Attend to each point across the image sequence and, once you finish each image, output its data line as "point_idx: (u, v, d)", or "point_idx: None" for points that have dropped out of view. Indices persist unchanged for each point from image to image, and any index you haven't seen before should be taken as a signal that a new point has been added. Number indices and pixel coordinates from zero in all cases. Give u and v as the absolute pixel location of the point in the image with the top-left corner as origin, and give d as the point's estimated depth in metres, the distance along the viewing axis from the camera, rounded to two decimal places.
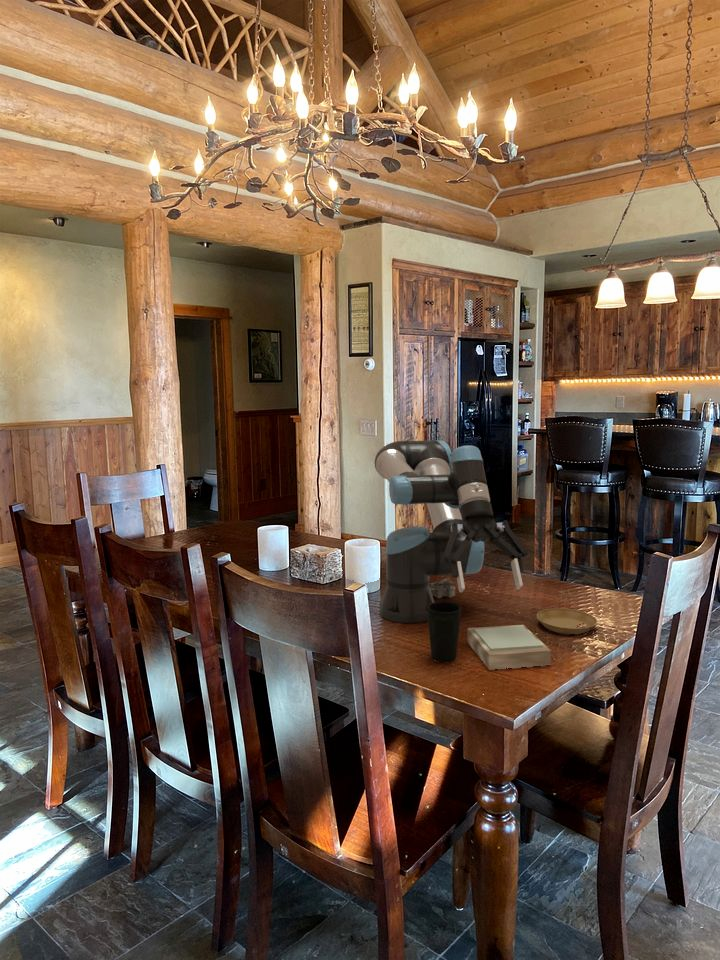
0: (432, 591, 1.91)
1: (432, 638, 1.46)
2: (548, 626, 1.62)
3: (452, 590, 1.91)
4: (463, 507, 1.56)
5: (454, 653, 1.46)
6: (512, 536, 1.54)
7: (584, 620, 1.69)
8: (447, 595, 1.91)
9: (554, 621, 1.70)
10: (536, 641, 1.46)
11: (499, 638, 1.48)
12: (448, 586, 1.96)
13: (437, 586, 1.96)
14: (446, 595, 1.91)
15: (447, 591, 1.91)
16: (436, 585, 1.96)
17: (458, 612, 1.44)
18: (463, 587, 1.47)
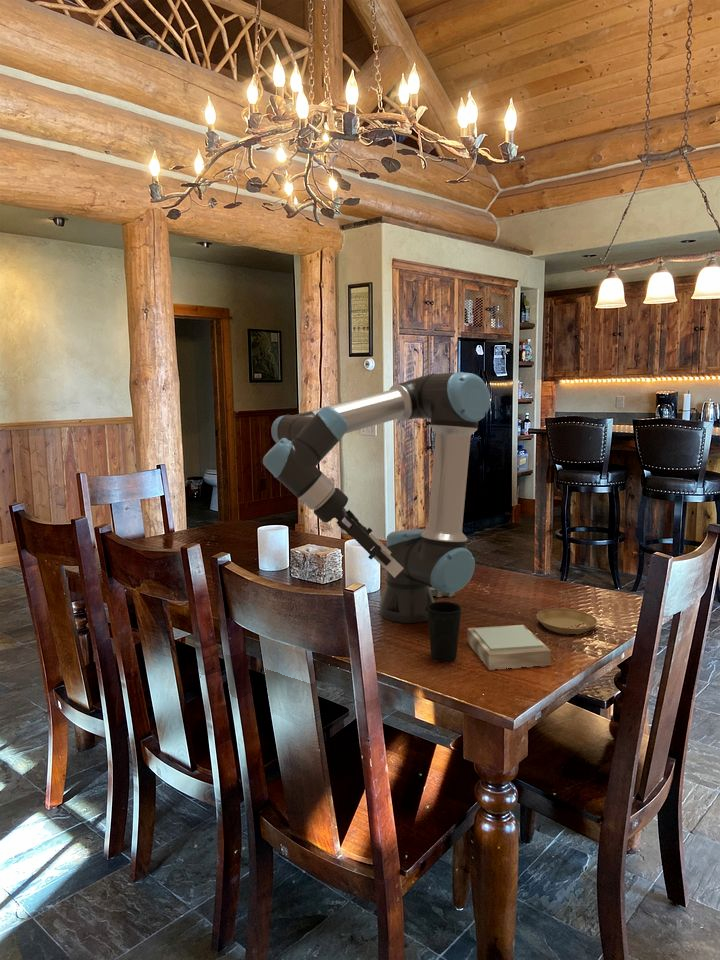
0: (432, 591, 1.91)
1: (432, 638, 1.46)
2: (548, 626, 1.62)
3: None
4: None
5: (454, 653, 1.46)
6: (354, 538, 1.34)
7: (584, 620, 1.69)
8: (447, 595, 1.92)
9: (554, 621, 1.70)
10: (536, 641, 1.46)
11: (499, 638, 1.48)
12: None
13: None
14: (446, 595, 1.92)
15: None
16: None
17: (458, 612, 1.44)
18: None
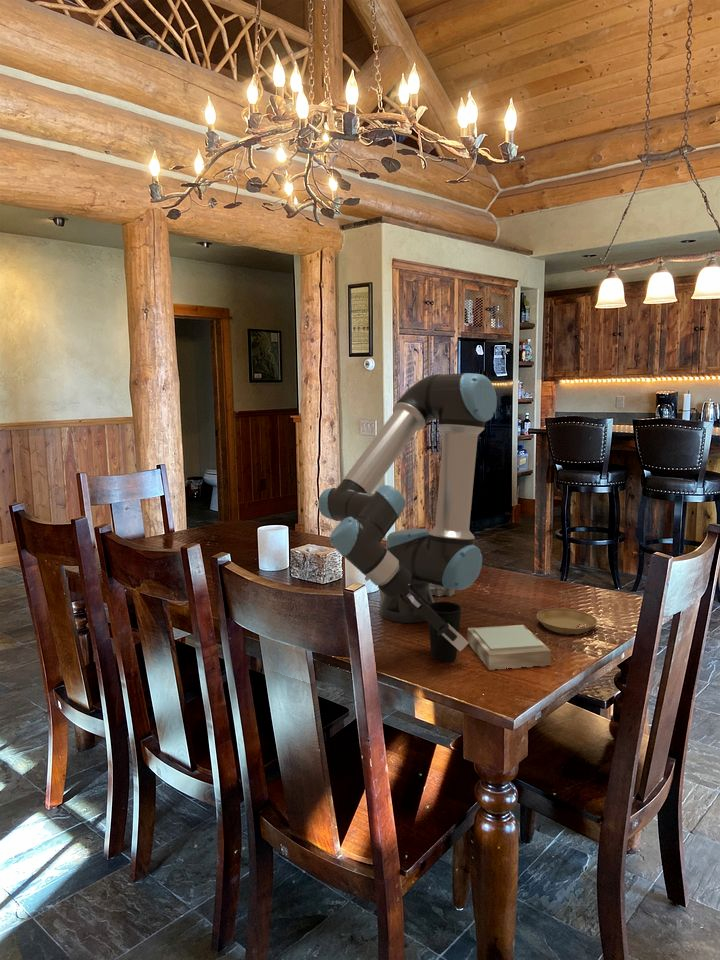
0: (432, 590, 1.92)
1: (432, 638, 1.46)
2: (548, 626, 1.63)
3: (452, 589, 1.92)
4: None
5: (454, 653, 1.46)
6: (422, 616, 1.40)
7: (584, 620, 1.69)
8: (447, 594, 1.92)
9: (554, 621, 1.70)
10: (536, 641, 1.46)
11: (499, 638, 1.48)
12: None
13: (436, 585, 1.97)
14: (446, 594, 1.93)
15: (447, 590, 1.92)
16: None
17: (458, 612, 1.44)
18: None
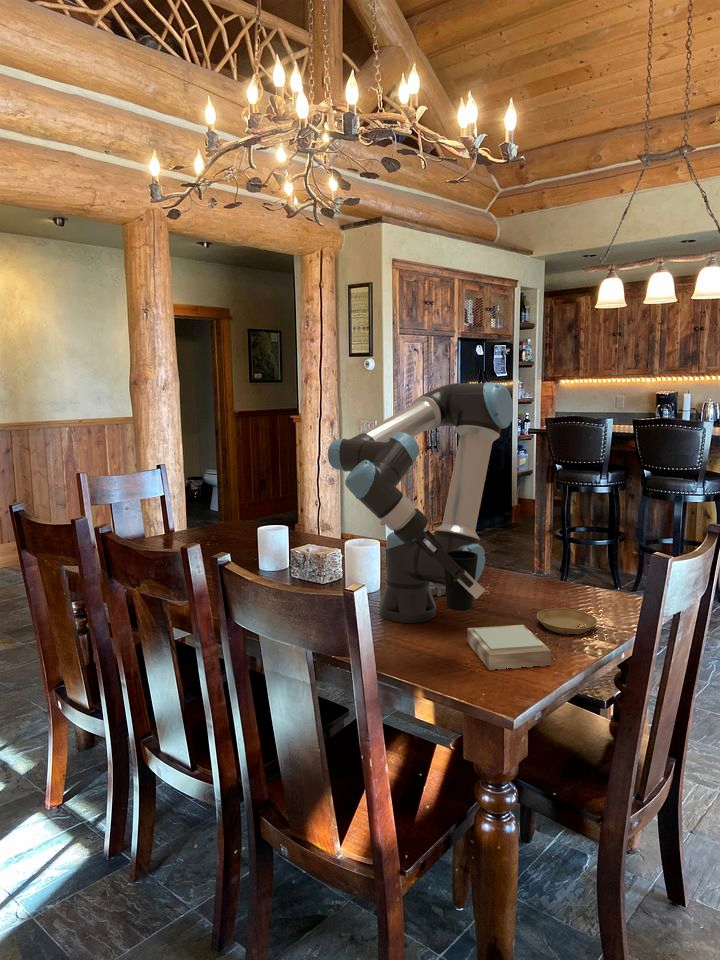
0: (432, 589, 1.93)
1: (448, 586, 1.43)
2: (548, 626, 1.63)
3: None
4: None
5: (470, 601, 1.43)
6: (438, 561, 1.37)
7: (584, 620, 1.69)
8: None
9: (554, 621, 1.70)
10: (536, 641, 1.46)
11: (499, 638, 1.48)
12: None
13: (436, 584, 1.98)
14: None
15: None
16: (435, 583, 1.98)
17: (475, 559, 1.42)
18: None
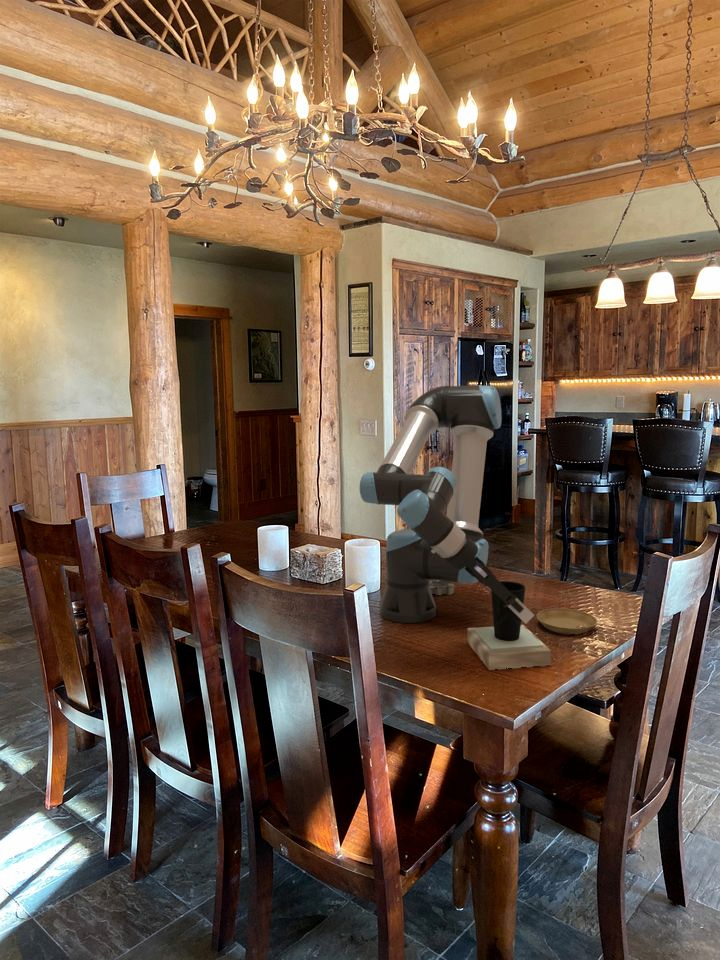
0: (432, 589, 1.93)
1: (496, 617, 1.47)
2: (548, 626, 1.63)
3: (451, 587, 1.94)
4: None
5: (518, 631, 1.47)
6: (489, 587, 1.40)
7: (584, 620, 1.69)
8: (446, 592, 1.94)
9: (554, 621, 1.70)
10: (536, 641, 1.46)
11: None
12: (446, 584, 1.99)
13: (435, 584, 1.98)
14: (445, 592, 1.94)
15: (446, 588, 1.94)
16: (434, 583, 1.99)
17: (523, 591, 1.45)
18: None
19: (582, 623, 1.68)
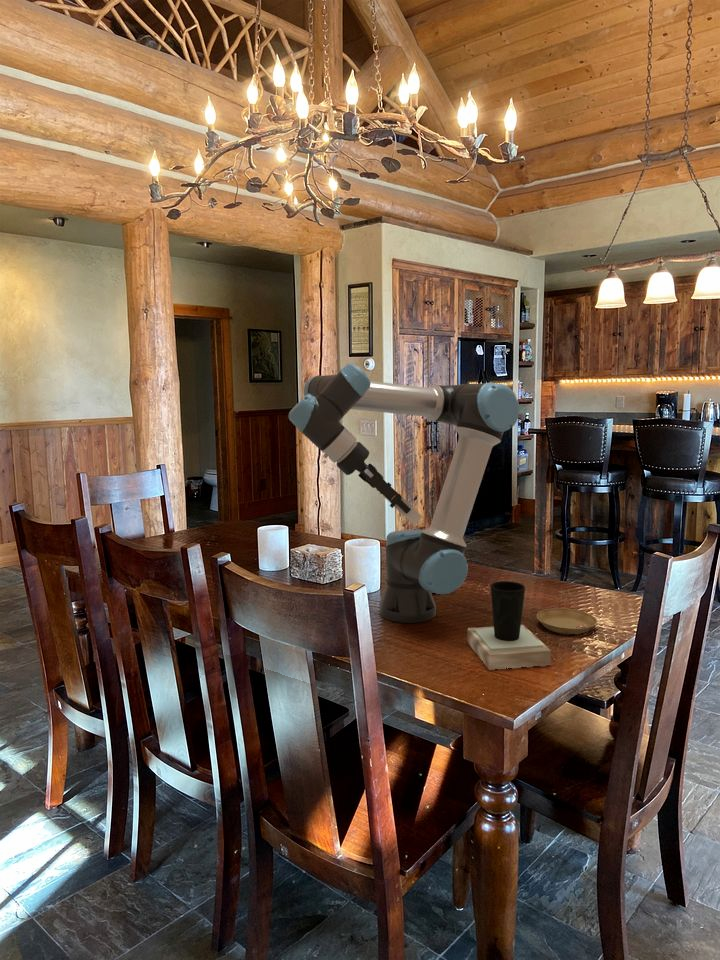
0: None
1: (496, 617, 1.47)
2: (547, 626, 1.63)
3: None
4: None
5: (518, 631, 1.47)
6: (376, 488, 1.41)
7: (584, 620, 1.69)
8: None
9: (554, 621, 1.70)
10: (536, 641, 1.46)
11: None
12: None
13: None
14: None
15: None
16: None
17: (523, 591, 1.46)
18: (401, 513, 1.57)
19: (582, 623, 1.68)
